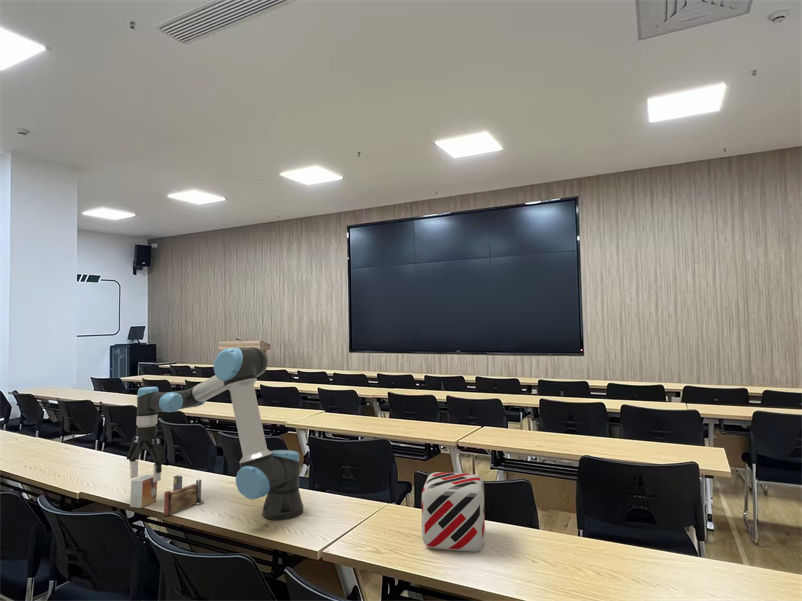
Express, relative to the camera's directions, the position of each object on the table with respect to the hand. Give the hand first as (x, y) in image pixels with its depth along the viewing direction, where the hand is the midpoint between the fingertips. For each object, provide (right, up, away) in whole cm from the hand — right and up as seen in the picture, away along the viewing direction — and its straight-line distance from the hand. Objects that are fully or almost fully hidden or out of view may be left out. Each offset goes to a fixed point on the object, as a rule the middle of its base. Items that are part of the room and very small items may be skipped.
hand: (145, 479), depth 185 cm
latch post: (+9, -11, +8) cm, 16 cm away
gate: (+18, -9, -7) cm, 21 cm away
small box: (0, -10, -1) cm, 10 cm away
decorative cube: (+121, -7, -34) cm, 126 cm away
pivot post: (+21, -10, +1) cm, 23 cm away
